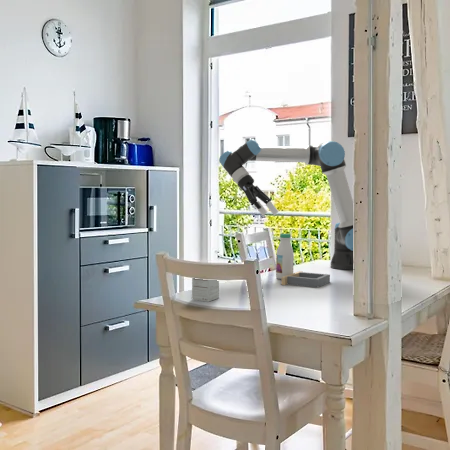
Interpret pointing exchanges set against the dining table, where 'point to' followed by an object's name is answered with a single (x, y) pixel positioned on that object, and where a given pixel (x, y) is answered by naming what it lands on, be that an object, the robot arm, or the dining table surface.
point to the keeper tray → (306, 279)
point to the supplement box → (205, 289)
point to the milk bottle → (284, 257)
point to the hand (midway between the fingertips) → (270, 213)
